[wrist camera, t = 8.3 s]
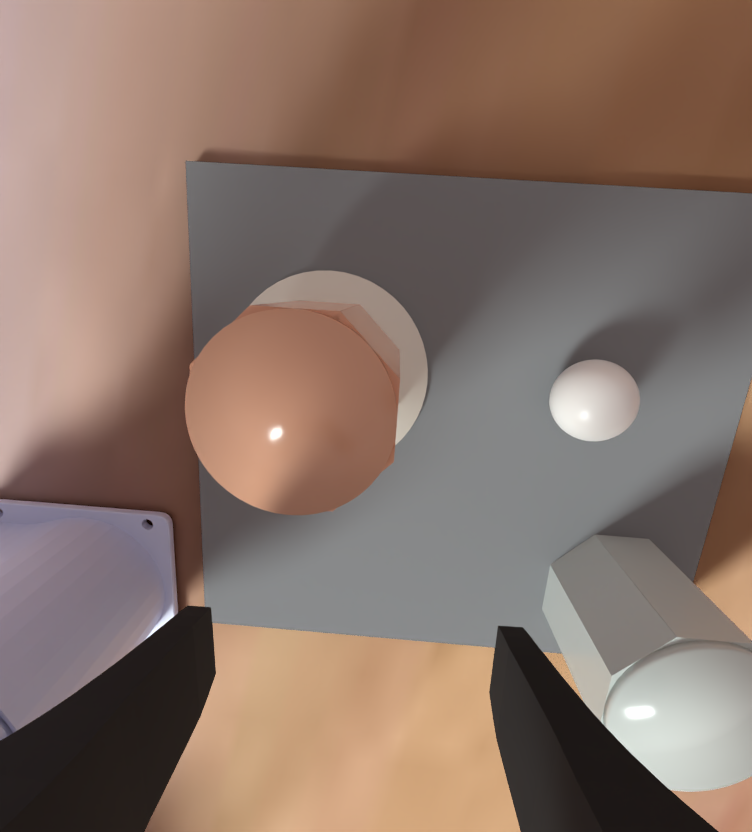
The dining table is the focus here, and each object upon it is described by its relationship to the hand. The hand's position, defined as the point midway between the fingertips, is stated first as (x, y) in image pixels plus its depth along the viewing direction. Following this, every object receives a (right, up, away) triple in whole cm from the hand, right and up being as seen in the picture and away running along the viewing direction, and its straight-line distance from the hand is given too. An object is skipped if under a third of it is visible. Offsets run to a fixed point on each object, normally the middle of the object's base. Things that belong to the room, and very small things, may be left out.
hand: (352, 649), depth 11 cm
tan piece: (-1, +7, +7) cm, 10 cm away
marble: (+9, +6, +5) cm, 12 cm away
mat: (+4, +5, +8) cm, 10 cm away
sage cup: (+11, -2, +9) cm, 14 cm away
